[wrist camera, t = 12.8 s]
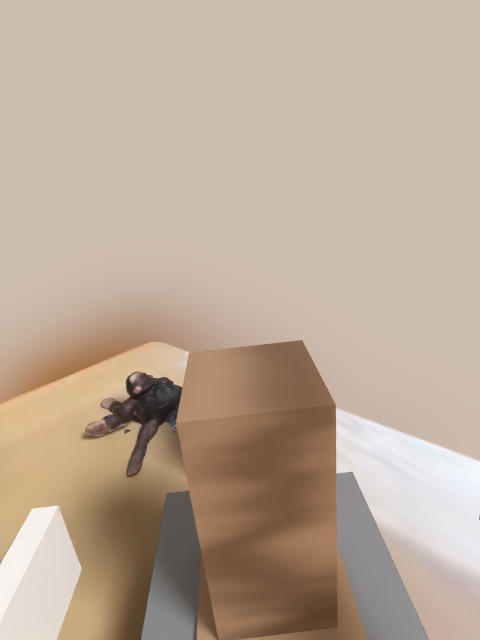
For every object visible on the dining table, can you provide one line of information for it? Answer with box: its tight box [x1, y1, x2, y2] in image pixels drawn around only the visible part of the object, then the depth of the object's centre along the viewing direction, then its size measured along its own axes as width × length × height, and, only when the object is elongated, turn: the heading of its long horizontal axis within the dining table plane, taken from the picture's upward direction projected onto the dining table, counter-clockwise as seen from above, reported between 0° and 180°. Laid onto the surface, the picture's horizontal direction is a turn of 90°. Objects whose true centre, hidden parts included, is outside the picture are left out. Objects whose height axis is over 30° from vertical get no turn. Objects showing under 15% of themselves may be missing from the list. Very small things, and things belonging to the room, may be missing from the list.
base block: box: [141, 472, 429, 640], centre depth 18 cm, size 12×12×5 cm
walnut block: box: [176, 340, 338, 640], centre depth 16 cm, size 5×5×11 cm
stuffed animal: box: [85, 372, 182, 476], centre depth 39 cm, size 12×10×12 cm
